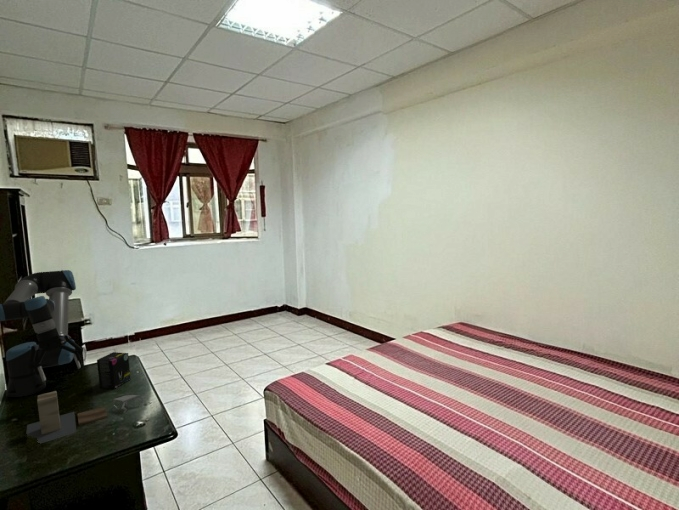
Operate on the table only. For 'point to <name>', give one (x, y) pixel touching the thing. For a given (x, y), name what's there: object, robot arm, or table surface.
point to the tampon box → (113, 370)
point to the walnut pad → (92, 415)
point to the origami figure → (125, 399)
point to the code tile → (66, 429)
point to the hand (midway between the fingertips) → (62, 374)
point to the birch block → (48, 412)
